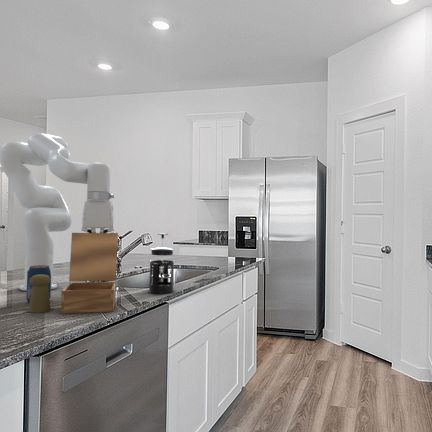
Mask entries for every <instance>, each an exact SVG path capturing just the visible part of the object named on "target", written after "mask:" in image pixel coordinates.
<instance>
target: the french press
mask: <svg viewBox="0 0 432 432" xmlns="http://www.w3.org/2000/svg"><path fill="white" fill-rule="evenodd" d="M157 236H161V237H160V238H161V239H162V240H161V247H155V248H150V249H149V250H150V251H151V255H152V256H161V259H156V260H155V259H154V260H150V261H149V283H148V285H149V286H148V287H149V288H148V293H149V294H151V295H152V294H153V295H167V294H173V293H174V265H175V264H174V263H175V261H174V260H170V259H169V260H167V259H163V256H172V255H174V251H175V248H170V247H164V239H165V236H169V233H166V232H165V233H164V232H163V233H157ZM169 267H170V268H171V269H170V270H171V271H170V274H169ZM160 269H161V270H160ZM160 279H161V280H163V281H160ZM169 279H170V281H169Z"/></svg>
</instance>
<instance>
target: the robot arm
mask: <svg viewBox="0 0 432 432" xmlns="http://www.w3.org/2000/svg"><path fill="white" fill-rule="evenodd" d="M70 158H71V152H70V150H69V144H68V142H67V141H66V139H64V138H63V137H61V136H58V135H53V134H47V133H41V132H38V133H37V132H36V133H34V134H32V135H30V136H29V137H28V139H27V142H22V141H8V142H5V143H3V144H2V145H1V146H0V168H1V169H2V171H3V173H4V174H5V175H6V177H7V179H8V180H9V182H10V185H11V187H12V189H13V192H14V193H15V196H16V198H17V200H18V202H19V204H20V206H21V207H23V208H24V209H27V210H26V211H25V212H24V214H23V217H22V223H23V229H24V234H25V235H24V237H25V238H24V239H25V245H24V247H25V250H24V282H23V284H21V285H20V286H19V290H20V291H24V292H27V272H28V270H29V268H30V266H41V265H45V266H49V268H50V270H51V290H56V289H57V288H58V284H57V283H53V282H54V281H53V280H54V279H53V278H54V250H55V249H54V247H55V246H54V245H55V244H54V240H53V237H52V235H51V234H50V233H54V232H56V233H57V232H65V231H67V230H69V229H70V227H71V225H72V215H71V212H70V210H69V208H68V206H67V203H66V201H65V199H64V197H63V195H62V193H61V192H60V191H59V189H57V188H56V187H54V186H49V185H41V184H39V183H38V180H36V177H35V175H34V174H33V172H32V171H31V170H30V169H29V168H28V167H27V166H25V165H28V166H37V167H43V166H48V169H49V171H50V172H51V173H52V175H54V176H55V177H57V178H58V179H60V180H62V181H64V182H66V183H74V184H82V185H83V184H84V185H86V200H85V201H84V203H83V210H82V219H81V220H82V221H81V222H82V223H81V224H82V226H81V232H83V233H97V229H99V233H112V232H114V231H115V229H114V207H113V206H114V204H113V201H111V199H115V195H114V194H113V193H111V166H110V164H108V163H106V162H105V163H104V162H90V163H85V162H79V161H71V160H70Z"/></svg>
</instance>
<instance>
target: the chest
mask: <svg viewBox="0 0 432 432" xmlns="http://www.w3.org/2000/svg"><path fill="white" fill-rule="evenodd" d="M116 296H117V281H82V282H69V283H67V285H66V286H64V288H63V289H62V290H61V293H60V314H62V315H63V314H82V313H83V314H85V313H104V312H105V313H107V312H109V313H110V312H114V309H115V306H116V301H117V300H116V299H117V297H116Z"/></svg>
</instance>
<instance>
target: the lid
mask: <svg viewBox="0 0 432 432" xmlns="http://www.w3.org/2000/svg"><path fill="white" fill-rule="evenodd" d="M118 243H119V233H116V232H115V233H114V232H113V233H112V232H107V233H100V232H96V233H88V232H71V242H70V258H69V259H70V261H69V276H68V277H69V278H68V282H117V272H118V271H117V269H118V245H119V244H118Z"/></svg>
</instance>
